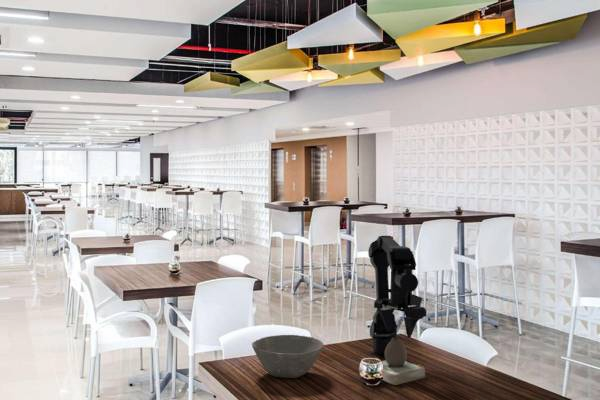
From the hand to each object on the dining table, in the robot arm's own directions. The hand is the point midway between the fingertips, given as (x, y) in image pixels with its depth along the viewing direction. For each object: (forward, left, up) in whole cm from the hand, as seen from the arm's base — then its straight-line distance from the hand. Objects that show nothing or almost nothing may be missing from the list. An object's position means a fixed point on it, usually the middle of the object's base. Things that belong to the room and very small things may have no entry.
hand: (399, 334), depth 181 cm
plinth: (+2, -3, -13) cm, 13 cm away
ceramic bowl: (-18, -31, -13) cm, 38 cm away
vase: (+2, -3, -10) cm, 10 cm away
